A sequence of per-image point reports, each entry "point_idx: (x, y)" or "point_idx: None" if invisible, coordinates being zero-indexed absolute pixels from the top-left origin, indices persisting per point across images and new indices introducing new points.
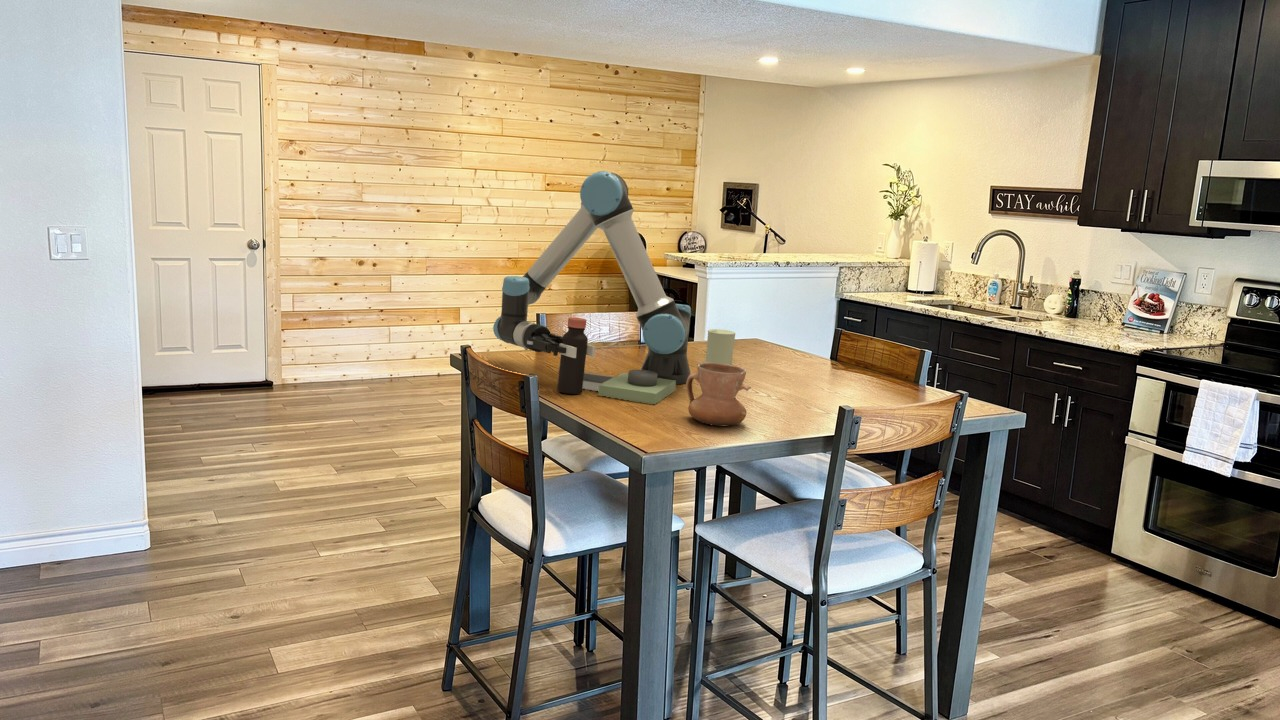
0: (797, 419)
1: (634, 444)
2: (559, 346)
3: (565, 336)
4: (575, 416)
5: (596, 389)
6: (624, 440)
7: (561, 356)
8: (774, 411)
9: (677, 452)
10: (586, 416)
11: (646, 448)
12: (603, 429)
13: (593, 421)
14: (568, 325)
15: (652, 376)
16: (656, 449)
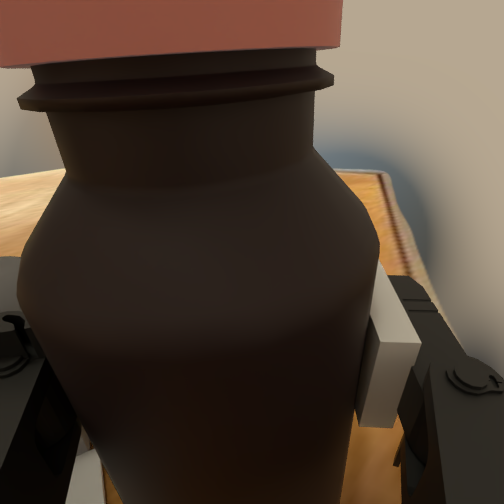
0: (49, 181)
1: (377, 186)
2: (424, 337)
3: (369, 216)
4: (415, 273)
5: (81, 484)
6: (382, 193)
7: (349, 435)
8: (11, 199)
9: (338, 169)
10: (384, 266)
11: (369, 178)
12: (390, 219)
13: (386, 245)
14: (340, 26)
15: (13, 258)
16: (358, 175)
